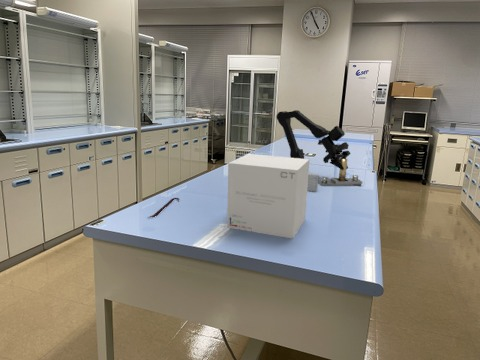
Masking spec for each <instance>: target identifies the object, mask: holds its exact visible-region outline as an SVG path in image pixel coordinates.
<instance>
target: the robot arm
mask: <svg viewBox="0 0 480 360" xmlns="http://www.w3.org/2000/svg"><path fill="white" fill-rule="evenodd" d="M275 118H276V120H277V121H278V124H280V126H281V127H282V128H283V132H284V134H285V138H286V141H287V143H288V146H289V149H290V151H289V156H290V157H289V158H299V159H305V153H304V150H303V149H300V148H299V146H298V143H297V141H296V137H295V135H294V131H293V128H292V126H291V122H292V119H293V118H295V119H296V120H297V121H298V122H299V123H301V124H302V125H303V126H304V127H306V128H307V129H308V130H309V131H310V133H311V135H313V137H315V138H316V139H318V142H317V145H319V146H321V145H322V146H323V148H324V149H325V153H326V155H325V156H324V157H323V159H322V161H323V162H324V164H328V163H329V164H331V165H333V166H335V167H337V168H338V169H339V170H340V169H341V170H343V169H344V168H343V166H342V164H341V162H340V161H341V158H345V159H347V157H348V156H350V155H351V152H350V150H348V149H349V143H347V141H345V142H342V143H340V144H336V143H335V142H338V141H339V140H341V139H342V137H344V136H345V134H346V133H345V132H344V129H342V128H341V127H339V126H338V125H335V126H334V127H333V128H332V129H331V130H327V129H326V128H325V127H323V126H321V125H320V124H317V123H315V122H314V121H312V120H311V119H310V118H308V117H307V116H306V115H304V113H302V112H301V111H300V110H297V109H295V110H292V111H288V110H287V111H286V110H285V111H283V110H282V111H279V112H277V114H276V117H275ZM321 138H322V139H321ZM329 160H330V161H329ZM348 166H349V165H347V169H346V170H348V169H349V167H348Z"/></svg>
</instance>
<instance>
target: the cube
mask: <svg viewBox="0 0 480 360" xmlns="http://www.w3.org/2000/svg"><path fill="white" fill-rule="evenodd" d="M227 167H228V168H227V171H228V172H227V209H226V212H227V213H226V215H227V217H226V218H227V221H226V228H229V229H235V230H239V229H240V231H245V230H247V232H251V231H252V232H251V233H258V234H264V235H271V236H276V237H281V238H282V237H283V238H287V239H294V238H295V236H296V234H297V233H298V231H299V230H300V228H301V227H302V225H303V223H304V222H305V220H306V215H307V214H306V213H307V212H306V211H307V198H308V197H307V196H308V191H307V187H308V174H309V173H310V172H309V170H310V159H308V158H304V159H299V158H291V157H289V156H288V157H287V156H276V155H266V154H255V153H247V154H245V155H243V156H241V157H238V158H236V159H234V160H232V161H230V162H228V164H227Z"/></svg>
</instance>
